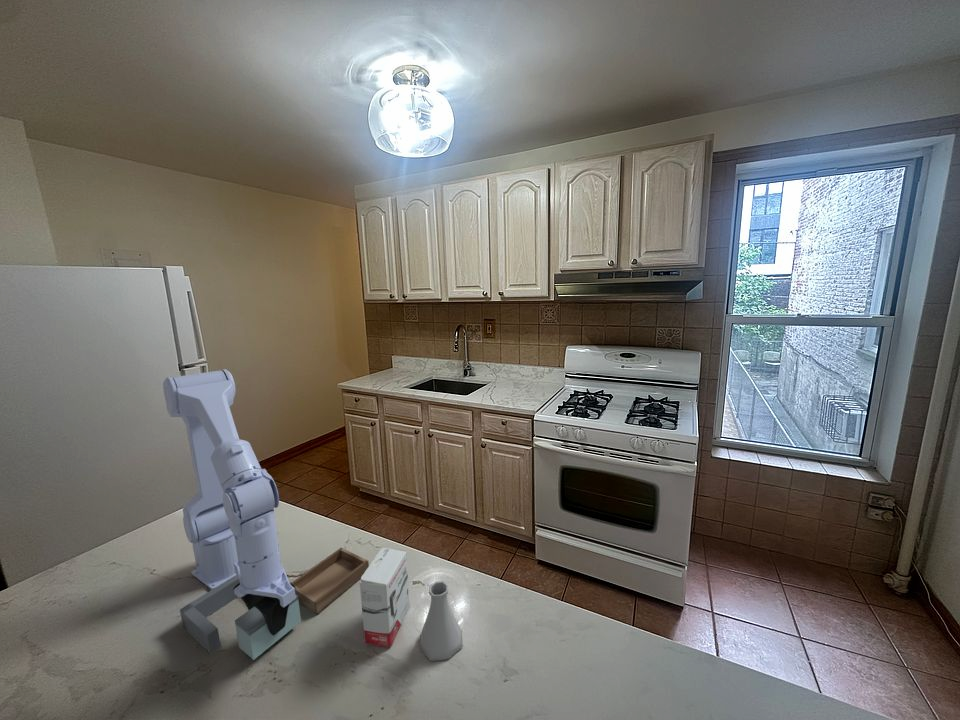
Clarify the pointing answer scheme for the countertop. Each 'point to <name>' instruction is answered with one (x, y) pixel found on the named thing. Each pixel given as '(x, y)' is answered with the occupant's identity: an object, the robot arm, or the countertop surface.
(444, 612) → the flask
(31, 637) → the countertop surface
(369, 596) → the ink box
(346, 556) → the walnut tray
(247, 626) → the pale grey block
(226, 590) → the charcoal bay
